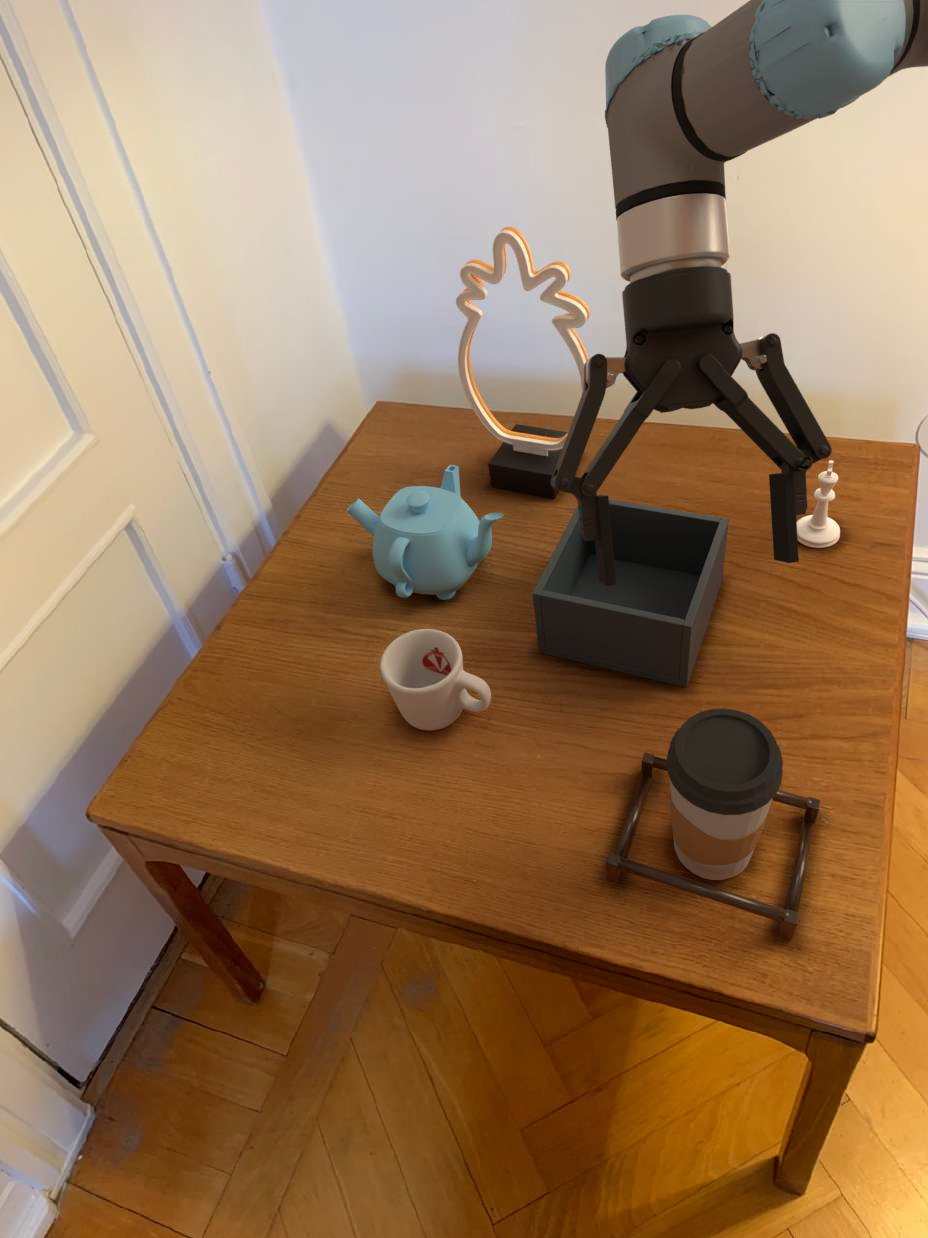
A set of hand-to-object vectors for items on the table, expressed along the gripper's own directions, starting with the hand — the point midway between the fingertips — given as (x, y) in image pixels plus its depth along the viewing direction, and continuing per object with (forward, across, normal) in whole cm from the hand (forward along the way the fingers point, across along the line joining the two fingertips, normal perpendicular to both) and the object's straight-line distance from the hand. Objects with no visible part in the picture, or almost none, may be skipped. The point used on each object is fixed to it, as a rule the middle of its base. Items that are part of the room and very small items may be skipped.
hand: (697, 572), depth 64 cm
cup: (+14, +20, -21) cm, 33 cm away
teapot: (+1, +19, -38) cm, 43 cm away
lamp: (-8, +5, -50) cm, 51 cm away
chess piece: (+2, -24, -32) cm, 40 cm away
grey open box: (+8, -1, -27) cm, 28 cm away
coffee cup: (+25, -1, -5) cm, 25 cm away
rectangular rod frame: (+24, -1, -5) cm, 25 cm away
